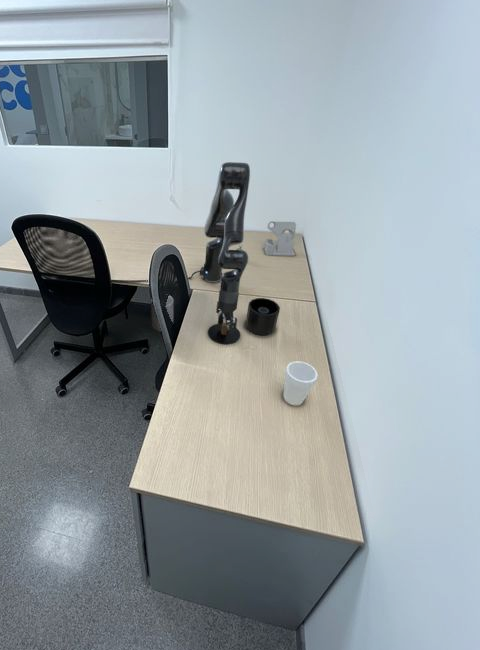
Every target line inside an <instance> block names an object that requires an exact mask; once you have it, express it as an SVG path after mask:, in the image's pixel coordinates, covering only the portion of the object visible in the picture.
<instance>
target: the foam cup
mask: <svg viewBox="0 0 480 650" xmlns="http://www.w3.org/2000/svg"><path fill="white" fill-rule="evenodd" d="M318 376H319V374H318V372H317V369H315V368H314V366H313V365H311V364H310V363H307V362H304V361H300V360H296V361H291V362H290V363H288V364H287V366H286V368H285V372H284V384H283V385H284V386H283V400H284V401H285V402H286V403H288V404H289V405H292V406H300V405H301V404H302V405H303V402H304V401H305V399H306V397H307V396H308V394H309V393H310V391H311V389H312V388H313V386H314V385H315V384H316V383H317V378H318Z"/></svg>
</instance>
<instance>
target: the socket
mask: <svg viewBox="0 0 480 650" xmlns="http://www.w3.org/2000/svg"><path fill="white" fill-rule="evenodd" d="M258 313H262V314H269V309H267V308H265V307H260V308H258Z"/></svg>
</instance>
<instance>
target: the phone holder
mask: <svg viewBox="0 0 480 650" xmlns="http://www.w3.org/2000/svg"><path fill="white" fill-rule="evenodd" d="M270 224H273V225H272V227H271V226H270ZM267 229H268V230H269V231H270V232H272V234H274V235H275V236H277V245H276V243H275V240H274V239H272V238H267V239H265V243H264V249H263V250H264V252H265V255H267V256H283V257H284V256H288V257H294V256H295V255H296V253H295V251H294V244H295V239H296V237H295V236H296V229H297V223H296V222H295V221H278V220H277V221H273V220H272V221H269V222H268V223H267ZM286 231H288V233H287V234H285V232H286Z"/></svg>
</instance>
